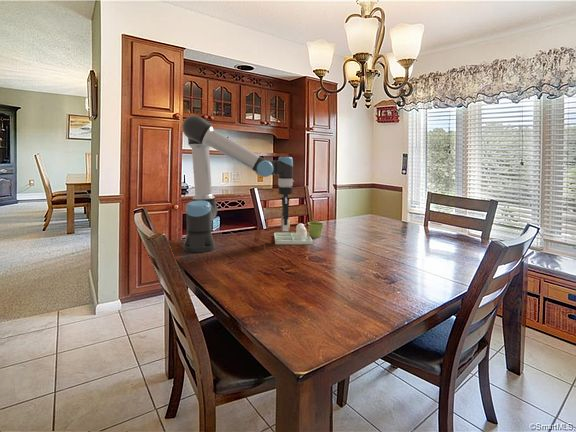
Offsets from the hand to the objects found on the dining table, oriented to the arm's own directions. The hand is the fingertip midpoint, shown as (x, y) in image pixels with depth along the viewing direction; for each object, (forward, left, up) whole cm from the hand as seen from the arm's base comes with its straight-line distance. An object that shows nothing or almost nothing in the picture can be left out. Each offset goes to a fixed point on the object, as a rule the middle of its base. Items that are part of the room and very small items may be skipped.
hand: (285, 229), depth 185 cm
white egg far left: (+9, +10, -7) cm, 15 cm away
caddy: (+5, +5, -7) cm, 10 cm away
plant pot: (+19, +13, -8) cm, 24 cm away
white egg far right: (+9, 0, -7) cm, 12 cm away
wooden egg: (0, 0, 0) cm, 0 cm away
